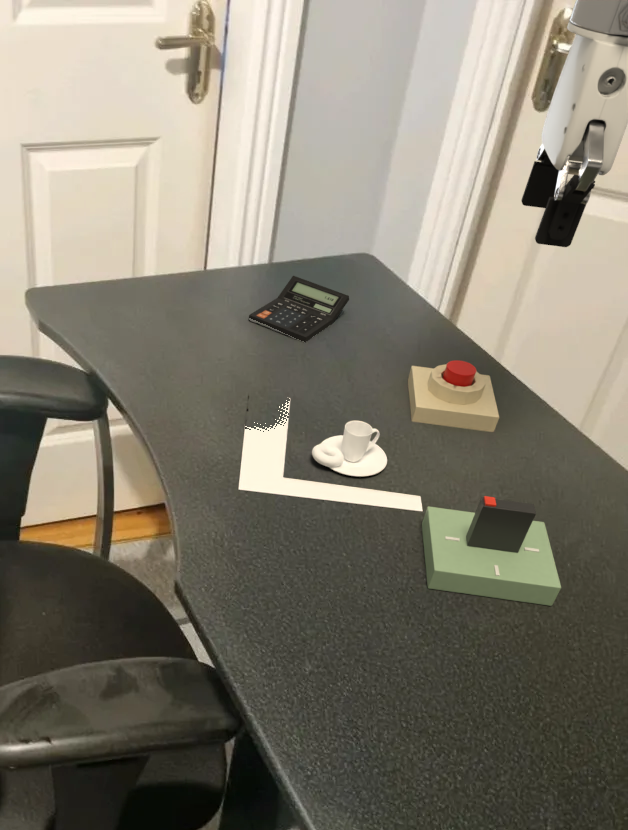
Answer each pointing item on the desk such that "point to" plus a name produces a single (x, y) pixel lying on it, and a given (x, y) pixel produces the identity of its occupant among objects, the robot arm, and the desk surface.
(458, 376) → the button
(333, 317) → the calculator
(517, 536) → the knob
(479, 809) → the desk surface
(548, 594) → the panel
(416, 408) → the button base
